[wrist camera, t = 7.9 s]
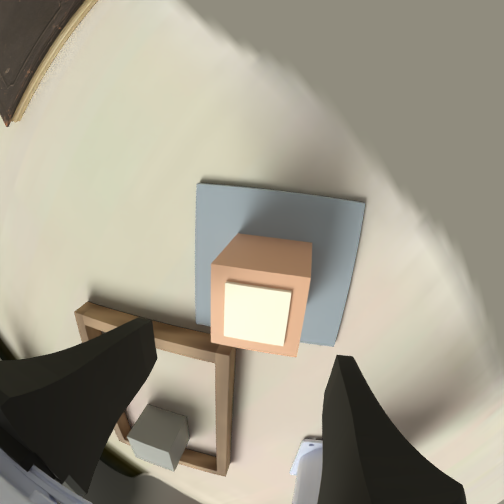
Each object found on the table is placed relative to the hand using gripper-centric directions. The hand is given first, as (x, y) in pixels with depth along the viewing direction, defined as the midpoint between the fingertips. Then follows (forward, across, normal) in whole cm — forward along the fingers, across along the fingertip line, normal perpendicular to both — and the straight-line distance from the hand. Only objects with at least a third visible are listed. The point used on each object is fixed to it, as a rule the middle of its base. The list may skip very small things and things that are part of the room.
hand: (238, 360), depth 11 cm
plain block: (+9, +9, +20) cm, 24 cm away
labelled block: (+8, 0, 0) cm, 8 cm away
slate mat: (+9, 0, 0) cm, 9 cm away
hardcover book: (+10, +28, -24) cm, 38 cm away
